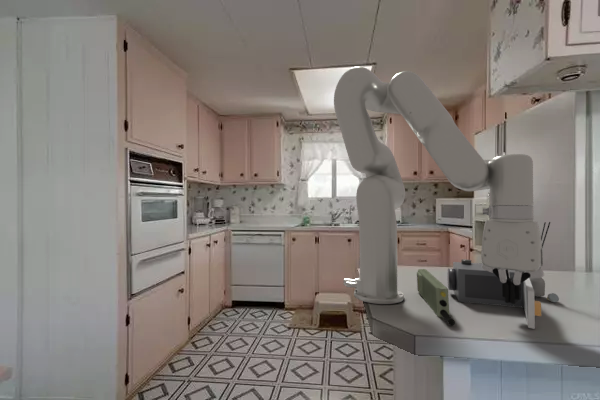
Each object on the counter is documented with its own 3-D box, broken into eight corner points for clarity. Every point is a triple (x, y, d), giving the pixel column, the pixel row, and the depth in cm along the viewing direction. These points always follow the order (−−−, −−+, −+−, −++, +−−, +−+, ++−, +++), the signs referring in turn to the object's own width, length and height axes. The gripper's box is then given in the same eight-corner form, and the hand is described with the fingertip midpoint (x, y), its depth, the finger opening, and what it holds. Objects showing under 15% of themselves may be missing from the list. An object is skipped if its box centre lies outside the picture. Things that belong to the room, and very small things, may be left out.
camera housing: (451, 300, 77) (450, 264, 77) (447, 290, 86) (446, 257, 87) (525, 307, 72) (525, 268, 72) (512, 295, 81) (512, 261, 81)
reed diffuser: (509, 293, 83) (508, 219, 84) (526, 290, 86) (525, 218, 86) (552, 304, 74) (551, 220, 74) (569, 301, 76) (568, 220, 77)
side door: (523, 306, 72) (522, 275, 72) (534, 307, 71) (534, 276, 71) (527, 327, 59) (527, 290, 60) (541, 329, 58) (540, 291, 58)
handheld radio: (429, 293, 85) (461, 329, 60) (417, 293, 85) (443, 329, 61) (428, 268, 85) (459, 294, 60) (415, 268, 85) (441, 294, 61)
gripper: (466, 213, 68) (466, 297, 67) (553, 215, 57) (554, 316, 56) (478, 213, 73) (478, 291, 73) (560, 214, 62) (561, 306, 62)
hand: (511, 301), depth 64 cm, fingers closed
